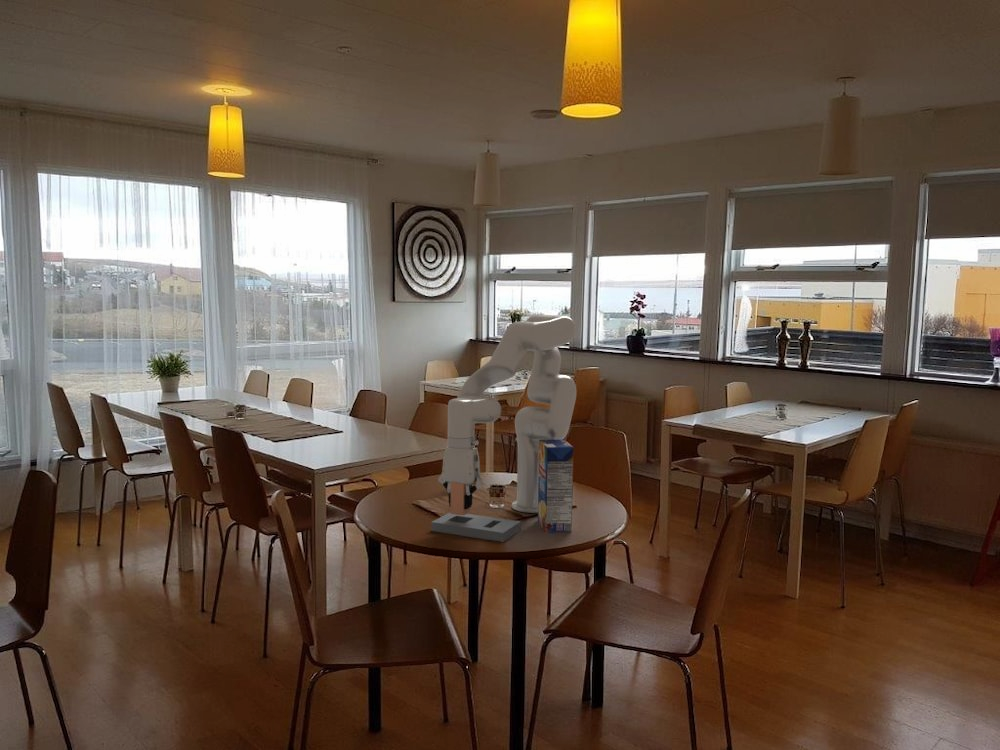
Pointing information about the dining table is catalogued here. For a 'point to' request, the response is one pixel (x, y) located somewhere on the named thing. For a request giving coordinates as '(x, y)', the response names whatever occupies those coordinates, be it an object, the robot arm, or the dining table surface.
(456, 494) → the square peg
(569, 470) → the juice carton
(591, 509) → the dining table surface
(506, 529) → the socket board
